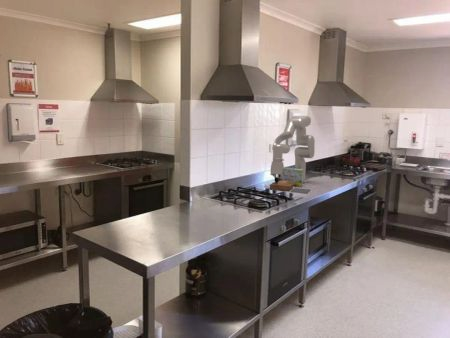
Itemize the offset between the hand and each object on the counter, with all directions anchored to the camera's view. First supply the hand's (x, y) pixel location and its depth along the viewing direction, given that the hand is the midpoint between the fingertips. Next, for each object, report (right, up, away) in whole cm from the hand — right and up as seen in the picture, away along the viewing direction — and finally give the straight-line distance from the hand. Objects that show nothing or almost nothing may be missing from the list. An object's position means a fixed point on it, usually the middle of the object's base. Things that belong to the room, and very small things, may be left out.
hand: (276, 182), depth 298 cm
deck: (+4, -5, -1) cm, 6 cm away
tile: (+5, -1, -2) cm, 5 cm away
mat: (+18, -6, -7) cm, 20 cm away
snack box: (+13, -3, +15) cm, 20 cm away
